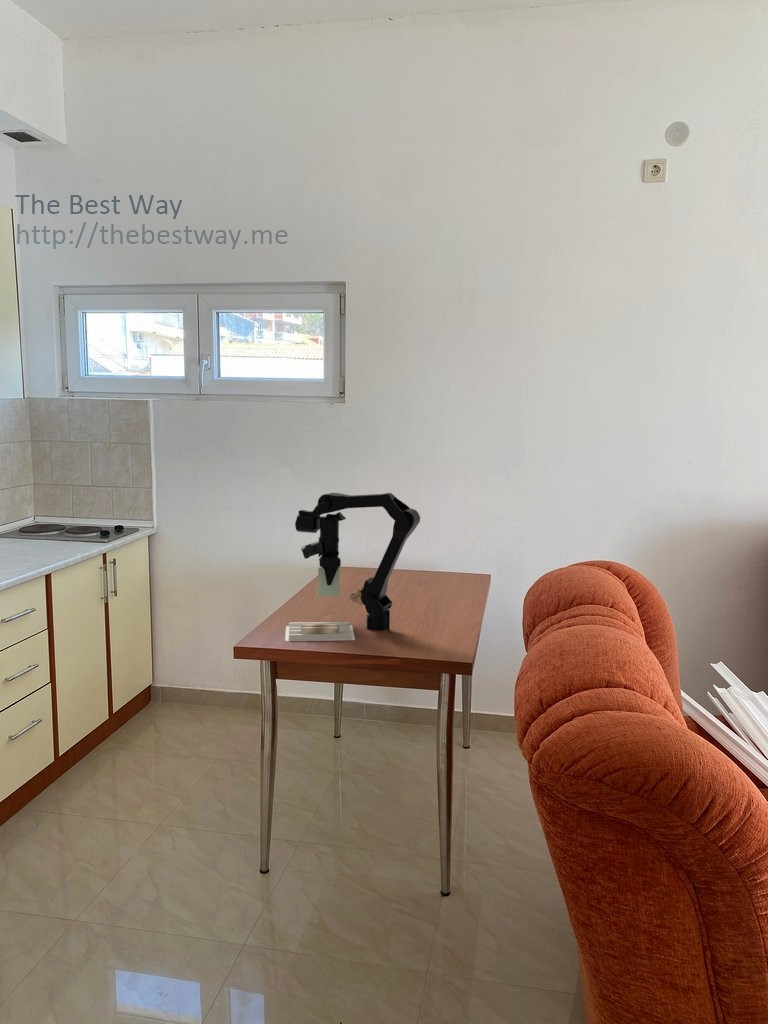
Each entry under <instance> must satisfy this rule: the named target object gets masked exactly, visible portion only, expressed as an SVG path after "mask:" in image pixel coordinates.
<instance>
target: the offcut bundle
mask: <svg viewBox="0 0 768 1024" xmlns="http://www.w3.org/2000/svg"><path fill="white" fill-rule="evenodd" d="M301 634H339V624H309V625H301Z"/></svg>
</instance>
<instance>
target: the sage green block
mask: <svg viewBox="0 0 768 1024" xmlns="http://www.w3.org/2000/svg"><path fill="white" fill-rule="evenodd" d="M340 567H341V566H340ZM340 567H338V570H337V572H336V574H335V576H334V579H333V581H332V584H331V585H327V581H326V576H325V570H324V569H323V568H322V567H320V565H318V566H317V597H340V579H341V578H340V577H341V575H340V573H341V571H340V569H341V568H340Z"/></svg>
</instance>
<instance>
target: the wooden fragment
mask: <svg viewBox="0 0 768 1024" xmlns="http://www.w3.org/2000/svg"><path fill="white" fill-rule="evenodd" d="M359 588H360V589H359ZM359 588H358V590H357V591H356V592H355V593H354V592H353V593H351V594H349V595H350V596H348V599H349V598H350V599H349V600H351V601H352V602H355V604H357V603H358V604H357V605H361V604H363V603H362V601H361V594H362V593H360V591H361V590H362V589H363V587H359Z"/></svg>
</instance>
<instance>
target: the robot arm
mask: <svg viewBox="0 0 768 1024" xmlns="http://www.w3.org/2000/svg"><path fill="white" fill-rule="evenodd" d="M381 507H382V508H383V509H384V510H385V511H386V513H387V514H388V515H389V517H391V519H393V520H394V524H393V528H392V537H391V539H390V540H389V543H388V546H387V547H386V550H385V553H384V555H383V556H382V559H381V561H380V563H379V566H378V568H377V570H376V572H375V574H374V575H373V576H374V577H373V576H371V577H370V578H367V579H366V580H365V581H364V583H363V587H362V588H363V589H362V590H361V591H360V593H362V594H361V601H362V603H361V604H363V606H364V607H365V611H366V612H367V614H366V615H365V618H366V621H365V623H366V624H365V627H366V630H373V631H386V630H387V633H388V634H391V629H390V628H391V627H390V619H391V615H390V614H391V613H390V609H392V605H393V601H392V600H391V599H390V598H389V597H388V596H387V591H388V583H389V579H390V577H391V574H392V573H393V570H394V567H395V566H396V564H397V562H398V560H399V557H400V555H401V553H402V550H403V548H404V545H405V544H406V542H407V540H408V539H409V537H410V536H411V534H413V532H414V531H415V529H417V527H418V526H419V523H420V522H421V516H420V514H419V512H418V511H417V510H416V509H414V508H411V507H409V505H407V504H406V503H405V502H403V501H402V500H400V499H398V497H396V496H395V495H394V494H393V493H392V492H386V493H377V494H374V493H373V494H372V493H371V494H355V495H354V494H353V495H351V494H350V495H349V494H346V493H345V494H344V493H339V492H328V493H325V494H321V495H320V496H319V498H318V500H317V505H316V506H315V507H314V509H313V510H306V509H299V510H298V514H297V517H296V519H295V522H294V527H295V530H296V532H299V533H308V534H309V533H311V534H316V533H317V532H318V531H319V537H318V540H317V541H315V542H311V543H309V544H305V545H303V546H301V548H300V550H301V552H302V555H303V558H304V559H305V560H306V559H309V558H310V557H313V556H316V555H318V558H319V559H318V561H319V566H320V567H322V568H323V569H324V570H325V576H326V581H327V585H331V584H332V581H333V579H334V576H335V574H336V572H337V570H338V567H341V562H342V561H341V557H339V555H340V551H339V546H340V545H339V542H340V534H339V532H340V531H339V530H340V529H339V528H340V527H339V526H340V522H341V521H344V520H346V516H345V515H344V514H342V512H341V511H342V510H345V509H347V510H348V509H359V508H360V509H362V508H364V509H365V508H381ZM338 511H339V512H338ZM335 512H337V513H336V514H335ZM324 514H326V515H325V516H321V515H324Z"/></svg>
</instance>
